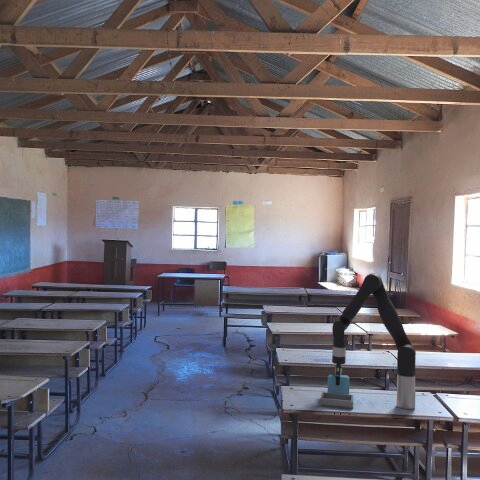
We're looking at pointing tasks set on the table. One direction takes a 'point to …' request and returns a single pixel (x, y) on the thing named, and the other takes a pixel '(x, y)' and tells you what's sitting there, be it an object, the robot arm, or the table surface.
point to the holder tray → (336, 400)
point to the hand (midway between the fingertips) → (337, 383)
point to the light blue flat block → (343, 386)
